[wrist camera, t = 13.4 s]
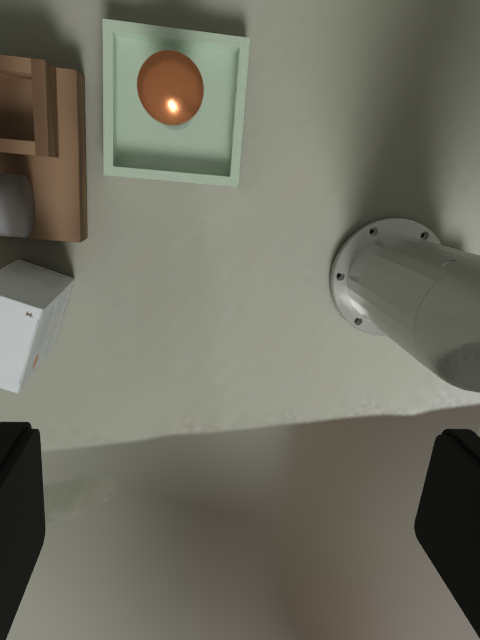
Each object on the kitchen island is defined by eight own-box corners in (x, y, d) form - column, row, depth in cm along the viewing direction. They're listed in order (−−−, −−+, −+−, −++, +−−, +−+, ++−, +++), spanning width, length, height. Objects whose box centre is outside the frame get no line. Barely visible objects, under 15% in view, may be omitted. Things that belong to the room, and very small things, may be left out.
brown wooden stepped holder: (84, 77, 39) (58, 52, 31) (87, 237, 43) (65, 251, 35) (-38, 63, 38) (-97, 34, 30) (-23, 230, 42) (-71, 243, 34)
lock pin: (201, 86, 40) (205, 54, 29) (198, 139, 41) (201, 127, 30) (150, 81, 39) (137, 45, 29) (149, 134, 40) (136, 120, 30)
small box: (19, 257, 43) (-32, 282, 33) (76, 277, 44) (44, 307, 34) (-2, 330, 45) (-55, 374, 35) (54, 348, 46) (17, 395, 36)
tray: (246, 46, 40) (250, 37, 37) (235, 186, 43) (238, 186, 41) (107, 28, 38) (102, 18, 36) (108, 175, 42) (103, 175, 39)
